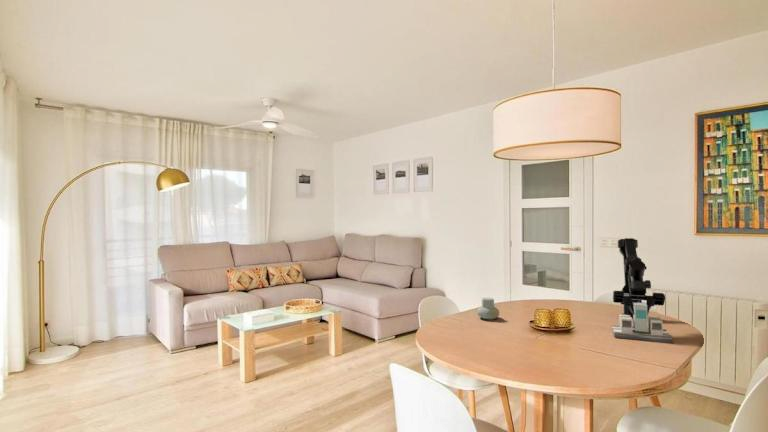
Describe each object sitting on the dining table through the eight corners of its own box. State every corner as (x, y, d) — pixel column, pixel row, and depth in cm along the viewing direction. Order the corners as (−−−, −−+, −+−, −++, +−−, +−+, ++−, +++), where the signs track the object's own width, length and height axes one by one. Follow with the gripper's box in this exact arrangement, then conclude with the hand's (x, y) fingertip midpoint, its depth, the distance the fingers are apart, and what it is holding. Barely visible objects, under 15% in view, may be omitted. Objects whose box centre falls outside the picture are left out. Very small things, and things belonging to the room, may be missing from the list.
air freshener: (493, 315, 207) (493, 296, 207) (502, 319, 199) (501, 299, 199) (474, 317, 204) (474, 298, 204) (482, 321, 196) (482, 301, 196)
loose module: (633, 327, 171) (632, 301, 171) (645, 328, 169) (645, 302, 169) (635, 330, 166) (634, 304, 166) (647, 332, 164) (647, 305, 164)
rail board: (611, 328, 178) (611, 312, 178) (665, 333, 169) (665, 315, 169) (614, 337, 165) (614, 319, 165) (673, 343, 157) (672, 324, 157)
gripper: (612, 272, 175) (615, 302, 165) (663, 274, 167) (670, 305, 157) (611, 287, 182) (614, 316, 172) (660, 289, 174) (666, 320, 164)
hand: (640, 314), depth 166 cm, fingers closed on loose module, 4 cm apart
